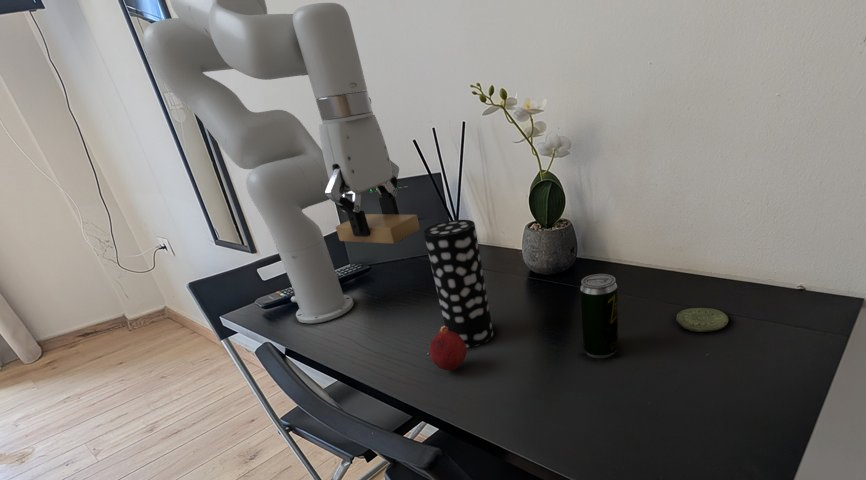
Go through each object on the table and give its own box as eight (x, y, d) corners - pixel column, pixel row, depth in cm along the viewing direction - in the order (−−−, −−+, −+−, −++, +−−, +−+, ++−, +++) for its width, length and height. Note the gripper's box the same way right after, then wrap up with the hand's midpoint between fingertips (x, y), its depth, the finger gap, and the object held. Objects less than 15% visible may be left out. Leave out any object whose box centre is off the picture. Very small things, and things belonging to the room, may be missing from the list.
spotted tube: (488, 347, 81) (467, 233, 70) (442, 348, 83) (416, 238, 72) (497, 324, 88) (479, 217, 77) (455, 325, 90) (432, 222, 79)
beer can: (581, 359, 73) (577, 288, 67) (586, 341, 78) (582, 273, 71) (616, 360, 72) (615, 287, 65) (619, 342, 76) (618, 272, 70)
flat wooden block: (339, 241, 79) (335, 226, 78) (367, 227, 84) (363, 213, 83) (394, 243, 74) (390, 228, 72) (420, 229, 79) (417, 214, 77)
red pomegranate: (456, 383, 73) (446, 338, 69) (428, 376, 76) (416, 333, 72) (476, 364, 77) (468, 320, 73) (449, 358, 80) (439, 316, 76)
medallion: (680, 307, 82) (681, 303, 82) (730, 311, 79) (731, 307, 78) (671, 329, 77) (672, 325, 76) (725, 334, 73) (725, 330, 73)
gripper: (366, 103, 77) (393, 212, 86) (281, 120, 64) (324, 245, 74) (401, 98, 73) (425, 212, 83) (319, 115, 61) (359, 247, 70)
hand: (377, 227), depth 78 cm, fingers closed on flat wooden block, 7 cm apart
